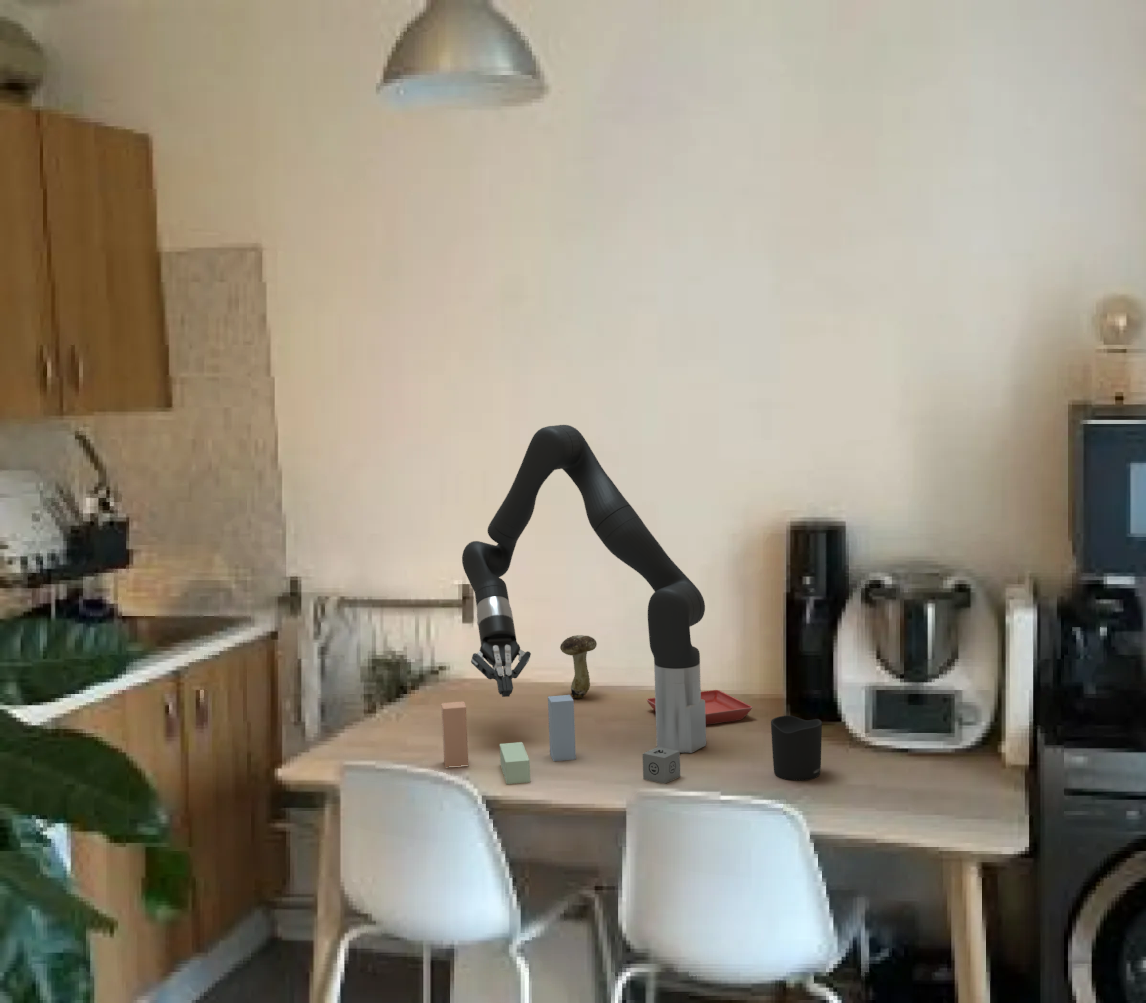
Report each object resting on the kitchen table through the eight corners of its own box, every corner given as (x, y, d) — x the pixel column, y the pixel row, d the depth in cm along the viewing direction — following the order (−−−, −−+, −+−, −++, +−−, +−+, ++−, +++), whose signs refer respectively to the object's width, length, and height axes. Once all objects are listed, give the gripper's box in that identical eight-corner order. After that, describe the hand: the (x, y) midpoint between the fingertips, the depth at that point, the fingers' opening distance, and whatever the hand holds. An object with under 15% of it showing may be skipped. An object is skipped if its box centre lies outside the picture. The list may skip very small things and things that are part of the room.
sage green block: (522, 742, 253) (529, 760, 241) (523, 764, 253) (530, 783, 242) (499, 743, 252) (505, 762, 240) (500, 766, 253) (506, 785, 241)
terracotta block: (466, 759, 257) (463, 701, 255) (468, 766, 252) (465, 707, 251) (444, 761, 256) (441, 703, 255) (445, 768, 252) (442, 709, 250)
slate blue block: (572, 752, 259) (569, 694, 258) (575, 759, 254) (573, 700, 253) (550, 754, 258) (547, 696, 257) (553, 761, 254) (551, 702, 252)
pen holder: (785, 784, 235) (784, 731, 234) (763, 769, 244) (762, 718, 243) (831, 778, 238) (830, 725, 237) (808, 763, 247) (807, 712, 246)
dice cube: (658, 772, 245) (657, 746, 244) (680, 776, 242) (679, 751, 241) (643, 779, 241) (642, 753, 240) (665, 784, 238) (664, 758, 237)
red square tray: (645, 712, 288) (645, 697, 288) (718, 702, 294) (717, 688, 294) (678, 733, 271) (677, 717, 271) (754, 722, 277) (754, 707, 277)
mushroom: (598, 702, 296) (596, 638, 295) (561, 703, 297) (558, 640, 295) (598, 692, 306) (596, 630, 304) (562, 693, 306) (560, 631, 304)
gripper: (467, 614, 267) (477, 687, 257) (529, 612, 270) (541, 684, 260) (462, 633, 273) (472, 705, 262) (523, 631, 276) (534, 702, 266)
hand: (506, 694), depth 261 cm, fingers closed
